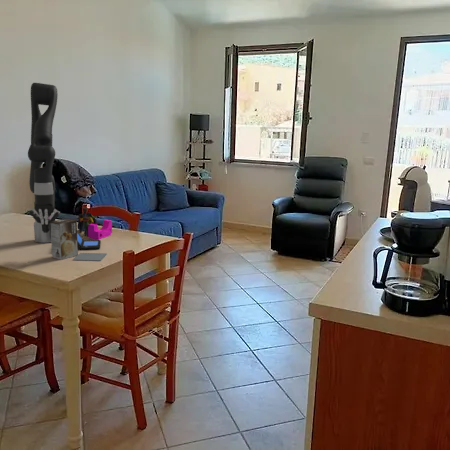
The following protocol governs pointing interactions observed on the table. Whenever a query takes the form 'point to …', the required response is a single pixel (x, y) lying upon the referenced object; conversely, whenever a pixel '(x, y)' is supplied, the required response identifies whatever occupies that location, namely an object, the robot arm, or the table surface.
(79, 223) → the doll family
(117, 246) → the table surface
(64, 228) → the coffee box
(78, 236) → the game console
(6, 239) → the table surface
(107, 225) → the toy block
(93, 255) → the slate mat
